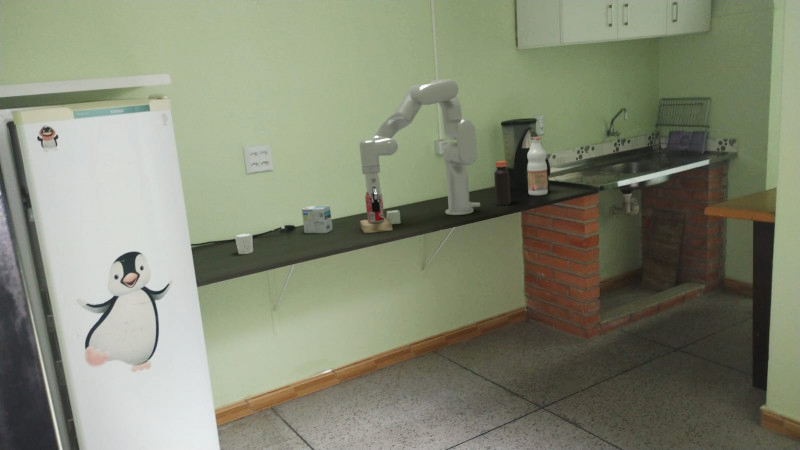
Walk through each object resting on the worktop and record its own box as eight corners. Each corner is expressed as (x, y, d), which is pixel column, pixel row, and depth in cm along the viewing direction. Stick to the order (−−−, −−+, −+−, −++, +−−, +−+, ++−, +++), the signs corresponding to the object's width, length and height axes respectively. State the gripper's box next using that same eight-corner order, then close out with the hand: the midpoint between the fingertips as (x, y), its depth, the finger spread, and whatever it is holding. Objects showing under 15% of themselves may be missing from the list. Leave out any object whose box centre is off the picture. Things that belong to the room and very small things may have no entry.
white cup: (238, 250, 272) (235, 233, 271) (255, 249, 273) (253, 232, 271) (235, 255, 265) (233, 237, 264) (253, 253, 266) (251, 236, 264)
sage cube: (398, 221, 303) (397, 210, 302) (400, 223, 298) (399, 212, 297) (387, 222, 302) (386, 211, 301) (389, 224, 297) (388, 213, 296)
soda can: (382, 223, 286) (379, 193, 283) (365, 224, 287) (362, 193, 284) (386, 219, 292) (383, 189, 290) (370, 220, 294) (367, 190, 291)
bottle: (511, 205, 316) (509, 162, 312) (496, 206, 317) (494, 163, 312) (509, 202, 323) (507, 160, 319) (495, 203, 323) (492, 161, 319)
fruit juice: (524, 194, 338) (522, 138, 332) (535, 191, 344) (533, 135, 338) (540, 196, 331) (538, 138, 325) (551, 192, 338) (549, 136, 332)
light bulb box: (333, 229, 296) (330, 205, 294) (326, 233, 290) (323, 208, 288) (310, 229, 300) (308, 205, 297) (303, 233, 294) (301, 208, 291)
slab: (387, 224, 298) (387, 217, 297) (392, 230, 286) (391, 223, 285) (360, 227, 296) (359, 220, 295) (364, 233, 284) (363, 226, 283)
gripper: (382, 171, 278) (386, 212, 281) (376, 166, 294) (380, 205, 298) (364, 173, 276) (368, 214, 280) (359, 167, 293) (363, 207, 297)
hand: (374, 209), depth 289 cm, fingers open, 9 cm apart
